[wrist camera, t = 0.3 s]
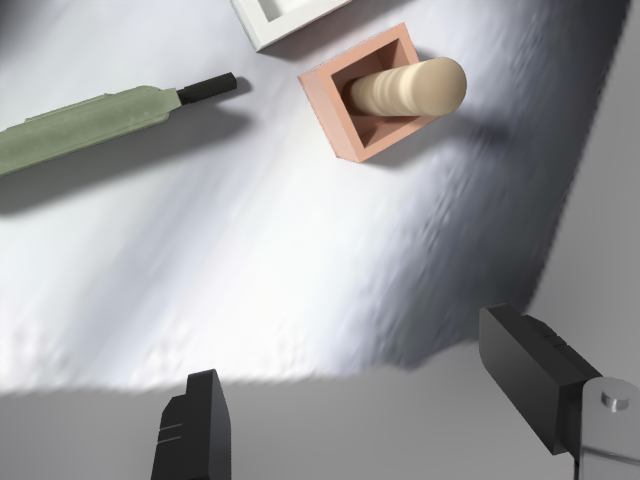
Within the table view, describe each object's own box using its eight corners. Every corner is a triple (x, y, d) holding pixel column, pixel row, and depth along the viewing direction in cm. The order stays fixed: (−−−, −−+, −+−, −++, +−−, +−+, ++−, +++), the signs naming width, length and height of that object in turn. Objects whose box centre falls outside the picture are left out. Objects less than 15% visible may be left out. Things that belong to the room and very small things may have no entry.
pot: (297, 76, 39) (316, 70, 34) (373, 35, 40) (403, 21, 35) (336, 157, 42) (360, 163, 36) (407, 116, 43) (440, 116, 37)
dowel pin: (334, 88, 39) (408, 73, 26) (366, 70, 40) (455, 47, 27) (350, 123, 40) (429, 125, 27) (381, 105, 41) (474, 99, 28)
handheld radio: (-105, 164, 34) (225, 58, 38) (-78, 206, 35) (240, 99, 39) (-169, 179, 27) (235, 50, 32) (-133, 229, 29) (251, 99, 33)
